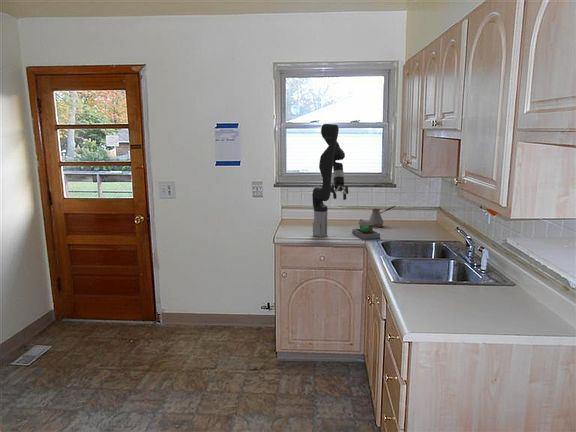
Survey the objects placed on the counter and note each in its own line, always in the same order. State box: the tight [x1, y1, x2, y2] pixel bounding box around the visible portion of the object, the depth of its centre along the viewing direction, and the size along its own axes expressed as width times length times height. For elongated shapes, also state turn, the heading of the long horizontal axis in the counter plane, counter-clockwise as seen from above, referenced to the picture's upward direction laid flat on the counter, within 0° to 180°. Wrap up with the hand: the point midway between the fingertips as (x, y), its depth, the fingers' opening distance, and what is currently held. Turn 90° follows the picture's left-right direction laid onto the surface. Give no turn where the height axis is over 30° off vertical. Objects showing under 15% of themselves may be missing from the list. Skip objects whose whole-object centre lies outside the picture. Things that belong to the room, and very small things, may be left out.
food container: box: [358, 218, 374, 234], centre depth 292 cm, size 12×6×10 cm, turn 30°
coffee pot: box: [368, 205, 397, 228], centre depth 324 cm, size 21×12×15 cm, turn 99°
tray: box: [351, 228, 381, 241], centre depth 293 cm, size 12×18×4 cm, turn 16°
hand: (340, 199), depth 310 cm, fingers open, 8 cm apart
